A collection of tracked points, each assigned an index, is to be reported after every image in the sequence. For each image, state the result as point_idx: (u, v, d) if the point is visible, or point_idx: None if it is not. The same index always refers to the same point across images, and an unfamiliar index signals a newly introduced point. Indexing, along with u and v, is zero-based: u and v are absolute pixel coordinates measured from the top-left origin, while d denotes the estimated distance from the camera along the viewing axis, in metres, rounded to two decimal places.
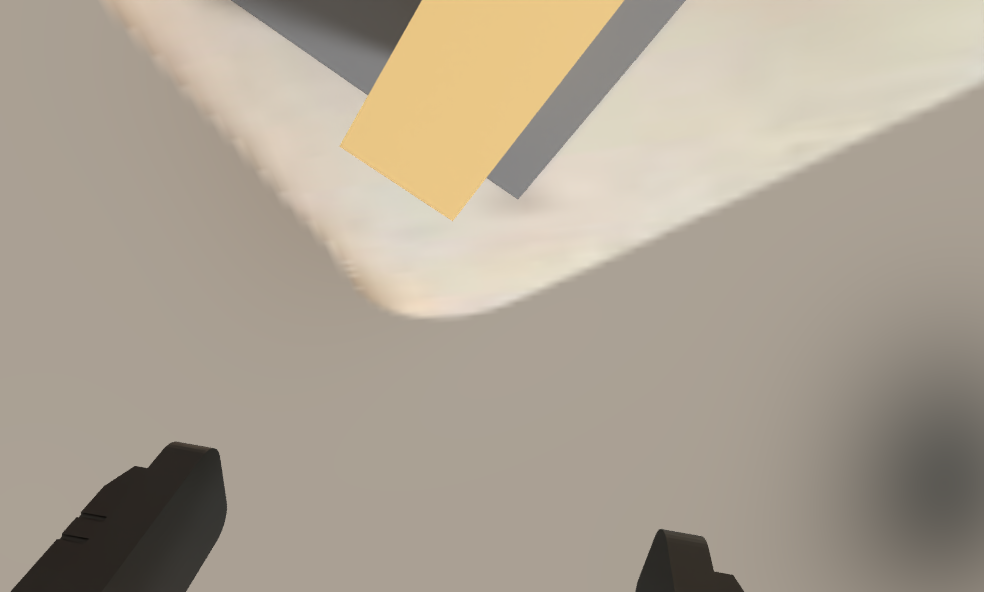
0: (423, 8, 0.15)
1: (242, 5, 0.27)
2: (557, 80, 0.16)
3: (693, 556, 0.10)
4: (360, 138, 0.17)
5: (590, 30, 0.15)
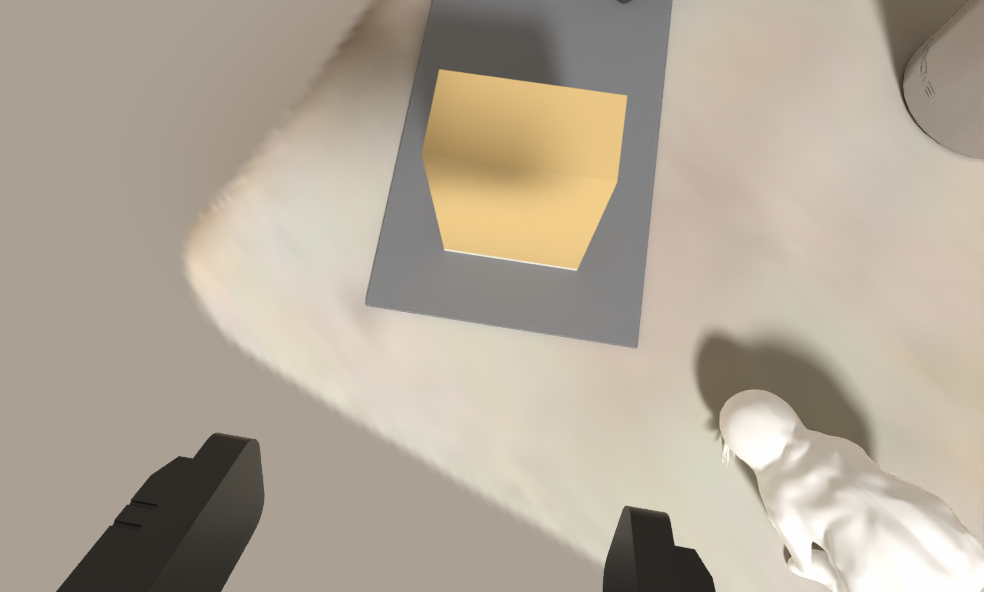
0: (549, 87, 0.25)
1: (417, 74, 0.39)
2: (552, 170, 0.24)
3: (655, 530, 0.10)
4: (451, 79, 0.25)
5: (587, 173, 0.24)
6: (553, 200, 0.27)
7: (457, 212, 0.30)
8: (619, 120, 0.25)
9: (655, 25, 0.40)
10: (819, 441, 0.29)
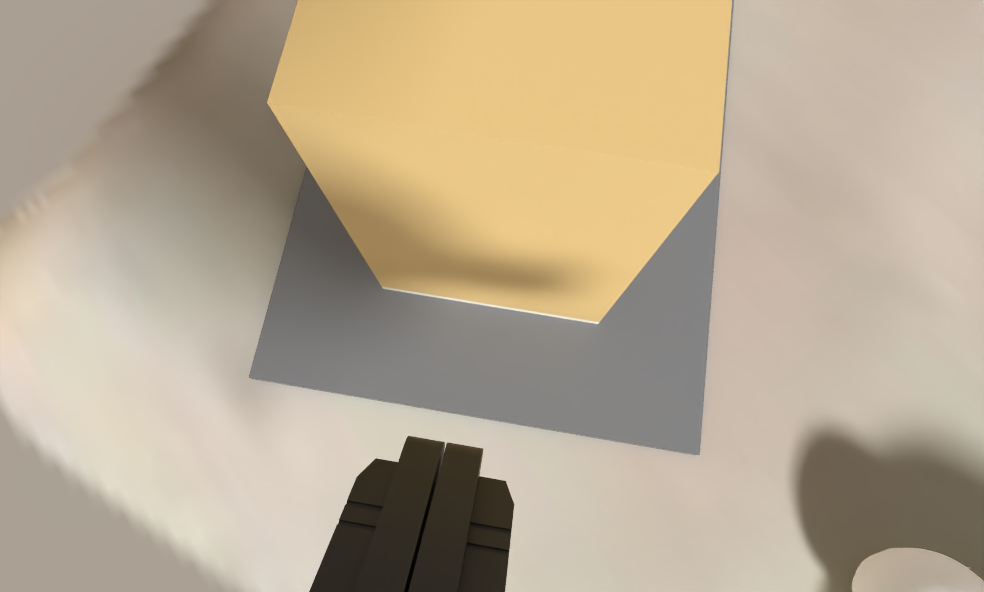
0: None
1: None
2: (567, 143, 0.10)
3: (464, 462, 0.11)
4: None
5: (649, 151, 0.10)
6: (566, 212, 0.13)
7: (384, 232, 0.16)
8: (718, 34, 0.11)
9: None
10: None
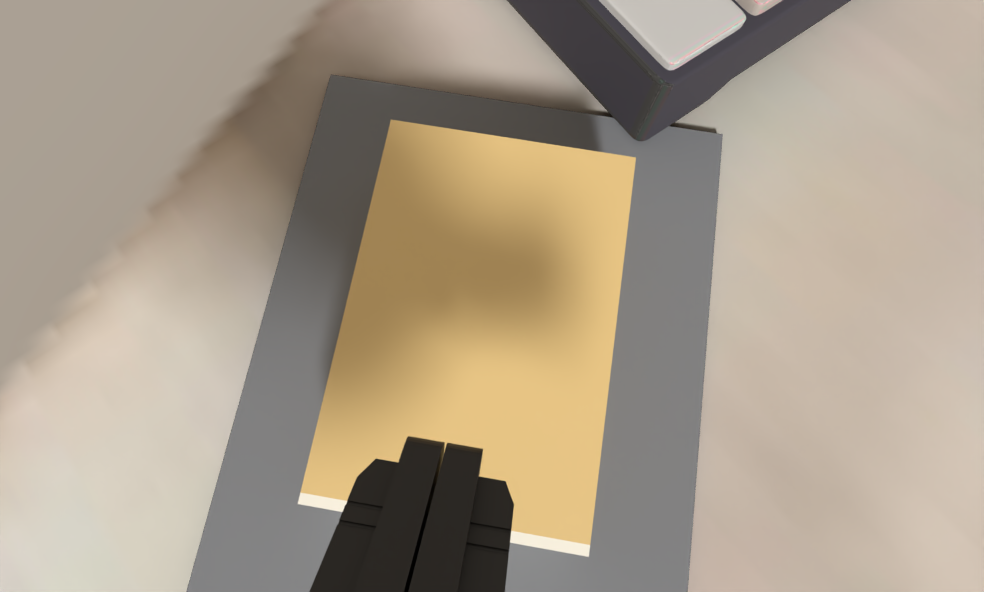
0: None
1: (280, 266, 0.22)
2: (553, 145, 0.19)
3: (464, 462, 0.11)
4: None
5: None
6: (553, 222, 0.19)
7: (387, 293, 0.18)
8: None
9: (694, 179, 0.23)
10: None
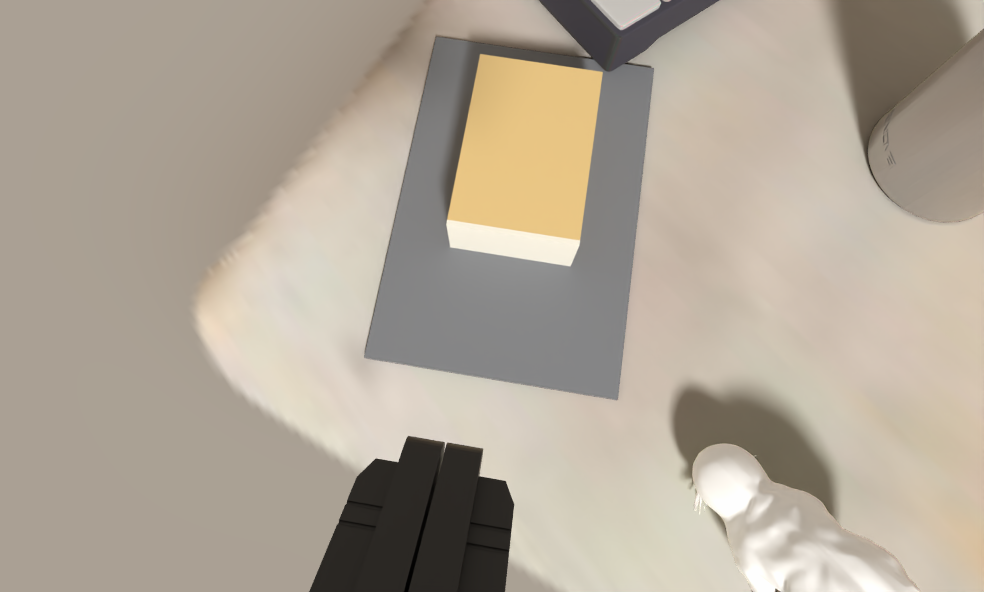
0: None
1: (414, 137, 0.42)
2: (561, 66, 0.39)
3: (464, 462, 0.11)
4: None
5: None
6: (561, 102, 0.38)
7: (482, 134, 0.37)
8: None
9: (637, 92, 0.43)
10: (781, 495, 0.31)
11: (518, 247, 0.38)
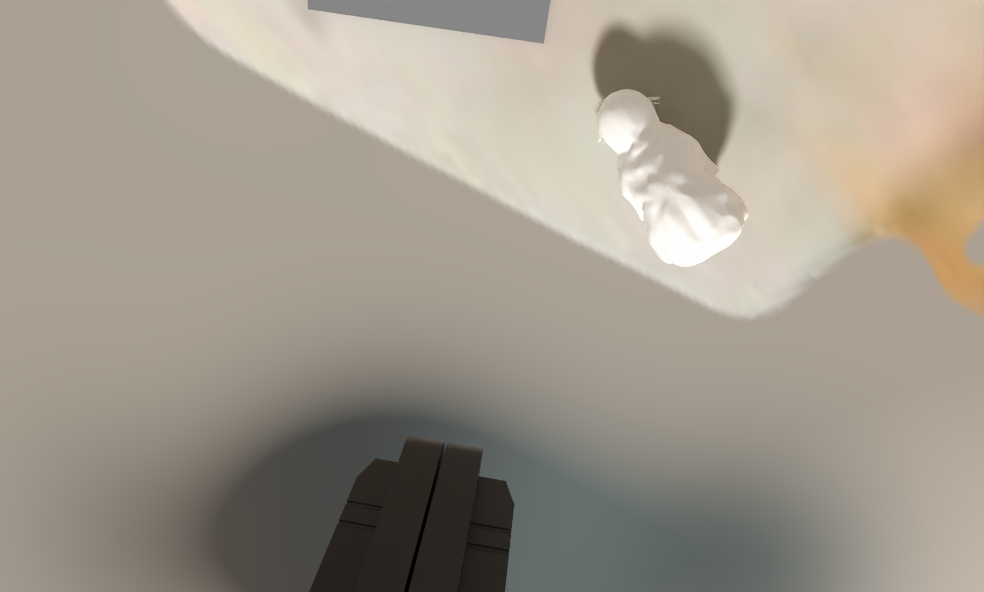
0: None
1: None
2: None
3: (464, 461, 0.11)
4: None
5: None
6: None
7: None
8: None
9: None
10: (657, 141, 0.38)
11: None
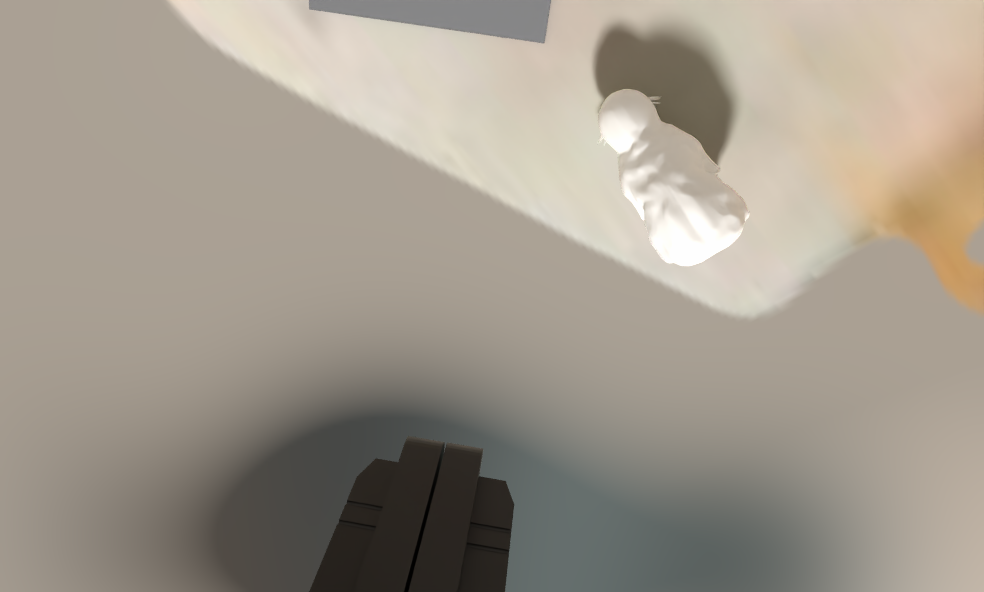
0: None
1: None
2: None
3: (464, 462, 0.11)
4: None
5: None
6: None
7: None
8: None
9: None
10: (658, 141, 0.38)
11: None
